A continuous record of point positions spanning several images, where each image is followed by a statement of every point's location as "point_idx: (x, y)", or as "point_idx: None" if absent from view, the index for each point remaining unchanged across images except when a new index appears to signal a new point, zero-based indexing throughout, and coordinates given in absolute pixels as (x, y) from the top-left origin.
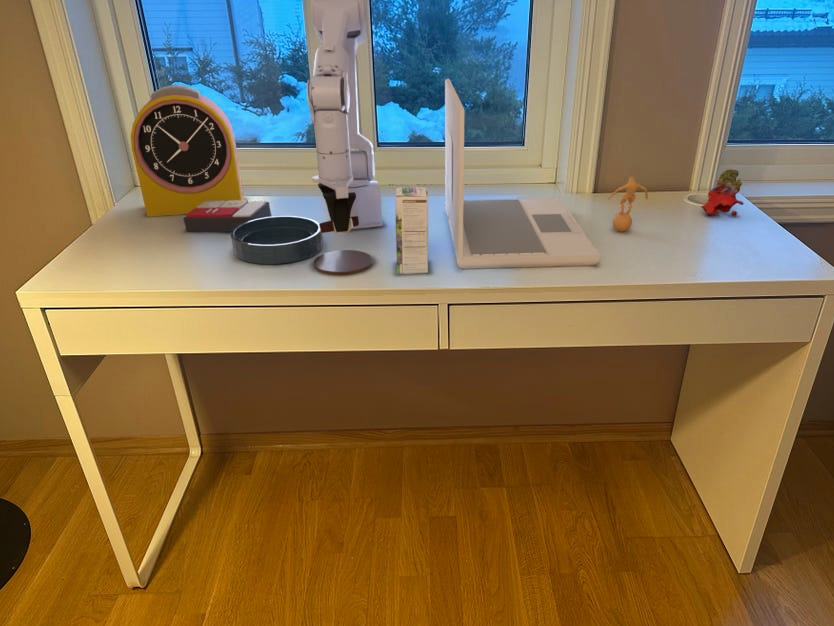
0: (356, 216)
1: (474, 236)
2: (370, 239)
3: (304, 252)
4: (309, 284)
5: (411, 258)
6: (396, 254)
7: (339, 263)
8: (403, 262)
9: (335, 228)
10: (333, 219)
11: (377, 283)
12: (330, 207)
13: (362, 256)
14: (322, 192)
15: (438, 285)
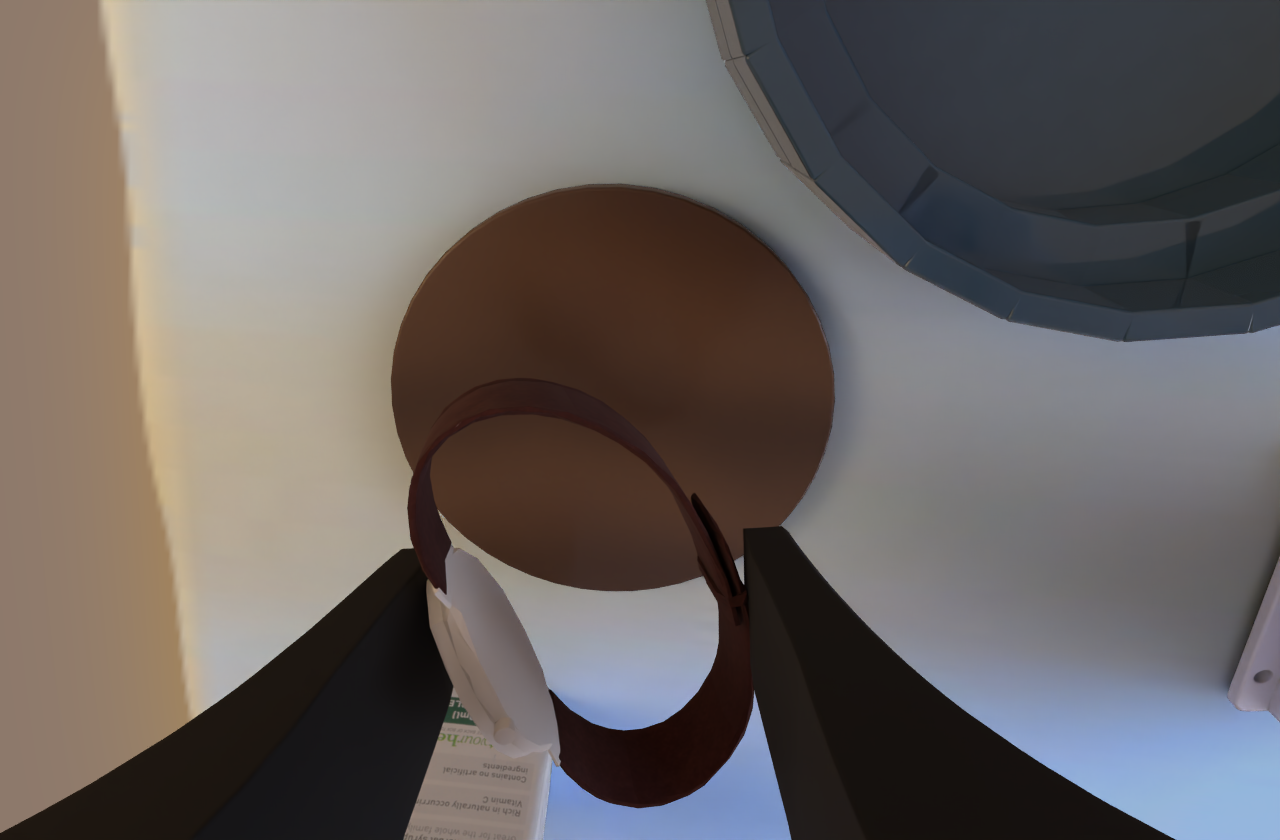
0: (691, 786)
1: None
2: (1022, 607)
3: (759, 115)
4: (223, 128)
5: None
6: (443, 758)
7: None
8: None
9: (378, 569)
10: (292, 645)
11: (257, 566)
12: (71, 808)
13: (661, 542)
14: (855, 827)
15: None
